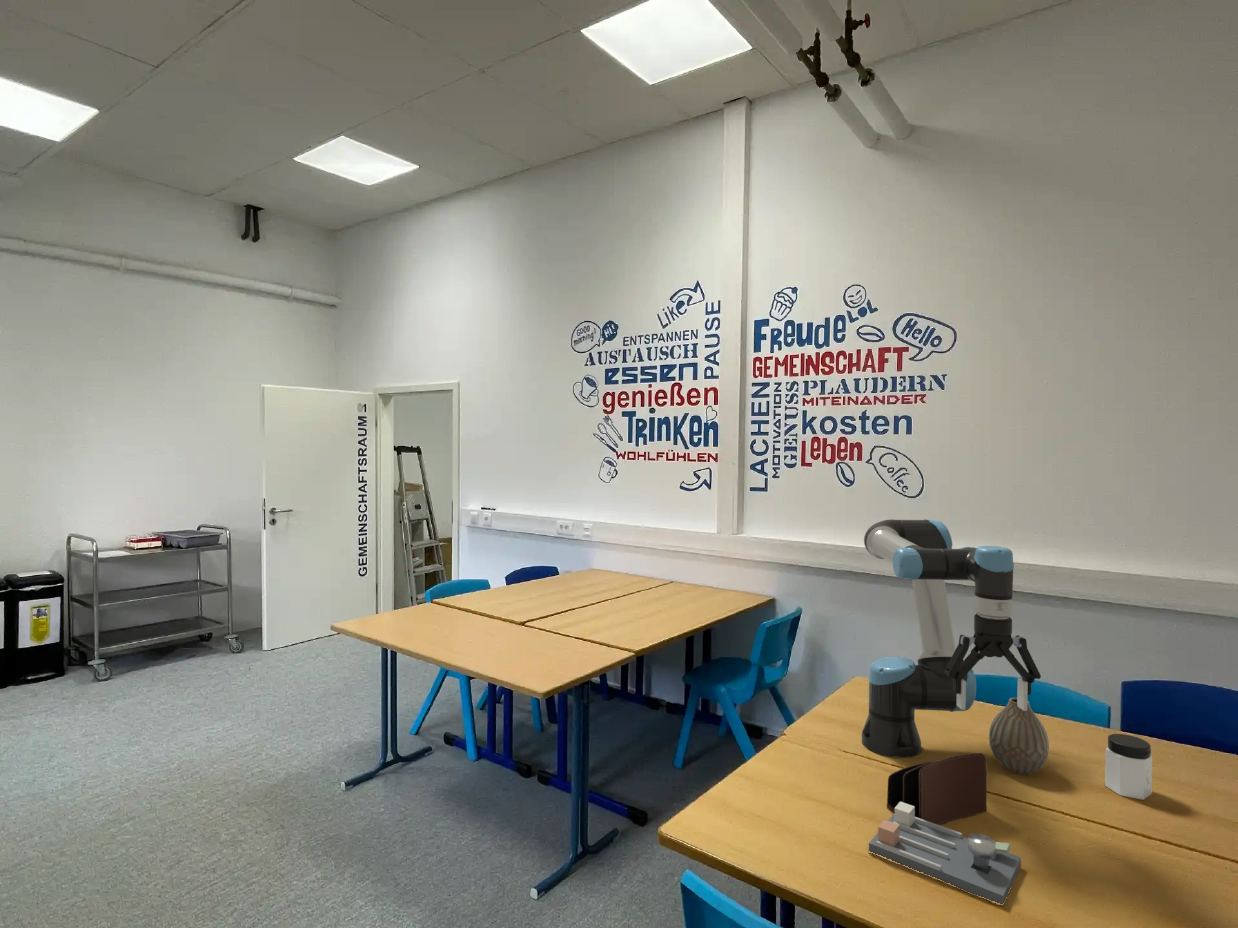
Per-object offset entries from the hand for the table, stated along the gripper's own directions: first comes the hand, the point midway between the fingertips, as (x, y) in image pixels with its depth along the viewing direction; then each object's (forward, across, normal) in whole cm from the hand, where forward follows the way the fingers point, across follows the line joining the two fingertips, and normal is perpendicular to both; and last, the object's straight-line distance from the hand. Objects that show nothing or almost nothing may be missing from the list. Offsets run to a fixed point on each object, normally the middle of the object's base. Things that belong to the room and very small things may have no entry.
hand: (991, 708), depth 152 cm
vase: (+23, +16, +18) cm, 34 cm away
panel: (+22, -19, -21) cm, 36 cm away
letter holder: (+23, -13, -2) cm, 26 cm away
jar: (+23, +36, +9) cm, 44 cm away
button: (+20, -15, -26) cm, 36 cm away
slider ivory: (+20, -24, -12) cm, 33 cm away
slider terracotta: (+20, -29, -19) cm, 40 cm away
